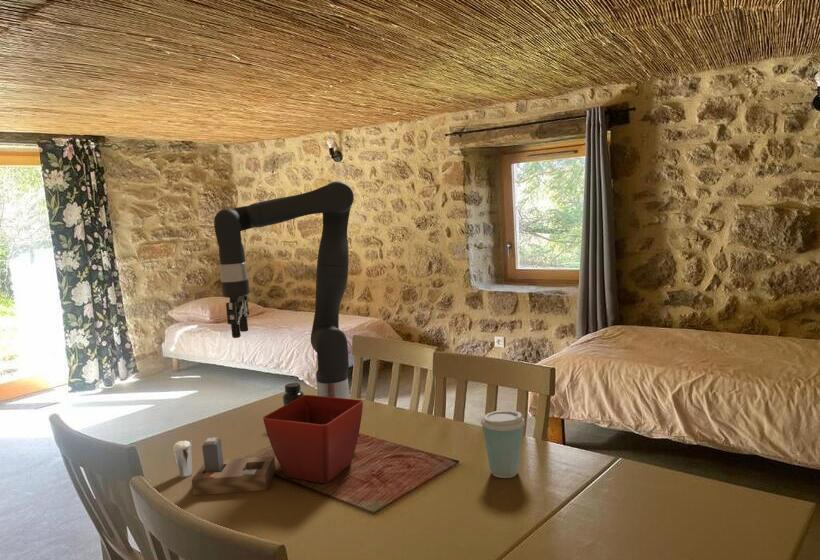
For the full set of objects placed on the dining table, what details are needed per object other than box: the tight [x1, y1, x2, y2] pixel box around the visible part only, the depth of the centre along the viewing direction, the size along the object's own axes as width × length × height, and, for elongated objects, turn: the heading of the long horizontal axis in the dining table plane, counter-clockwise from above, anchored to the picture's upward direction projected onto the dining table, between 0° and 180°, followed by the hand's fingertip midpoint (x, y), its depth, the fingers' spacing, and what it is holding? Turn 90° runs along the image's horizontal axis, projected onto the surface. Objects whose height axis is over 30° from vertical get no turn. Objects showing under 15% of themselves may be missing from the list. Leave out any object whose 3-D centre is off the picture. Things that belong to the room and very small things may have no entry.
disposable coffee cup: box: [480, 409, 526, 479], centre depth 149 cm, size 11×11×15 cm
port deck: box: [191, 455, 277, 496], centre depth 155 cm, size 18×11×4 cm, turn 91°
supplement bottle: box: [282, 382, 305, 406], centre depth 196 cm, size 7×7×12 cm
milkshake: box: [172, 438, 193, 478], centre depth 161 cm, size 5×5×10 cm
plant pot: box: [262, 394, 364, 484], centre depth 157 cm, size 19×19×17 cm
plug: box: [201, 436, 224, 473], centre depth 154 cm, size 4×4×12 cm
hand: (240, 334), depth 176 cm, fingers open, 8 cm apart
